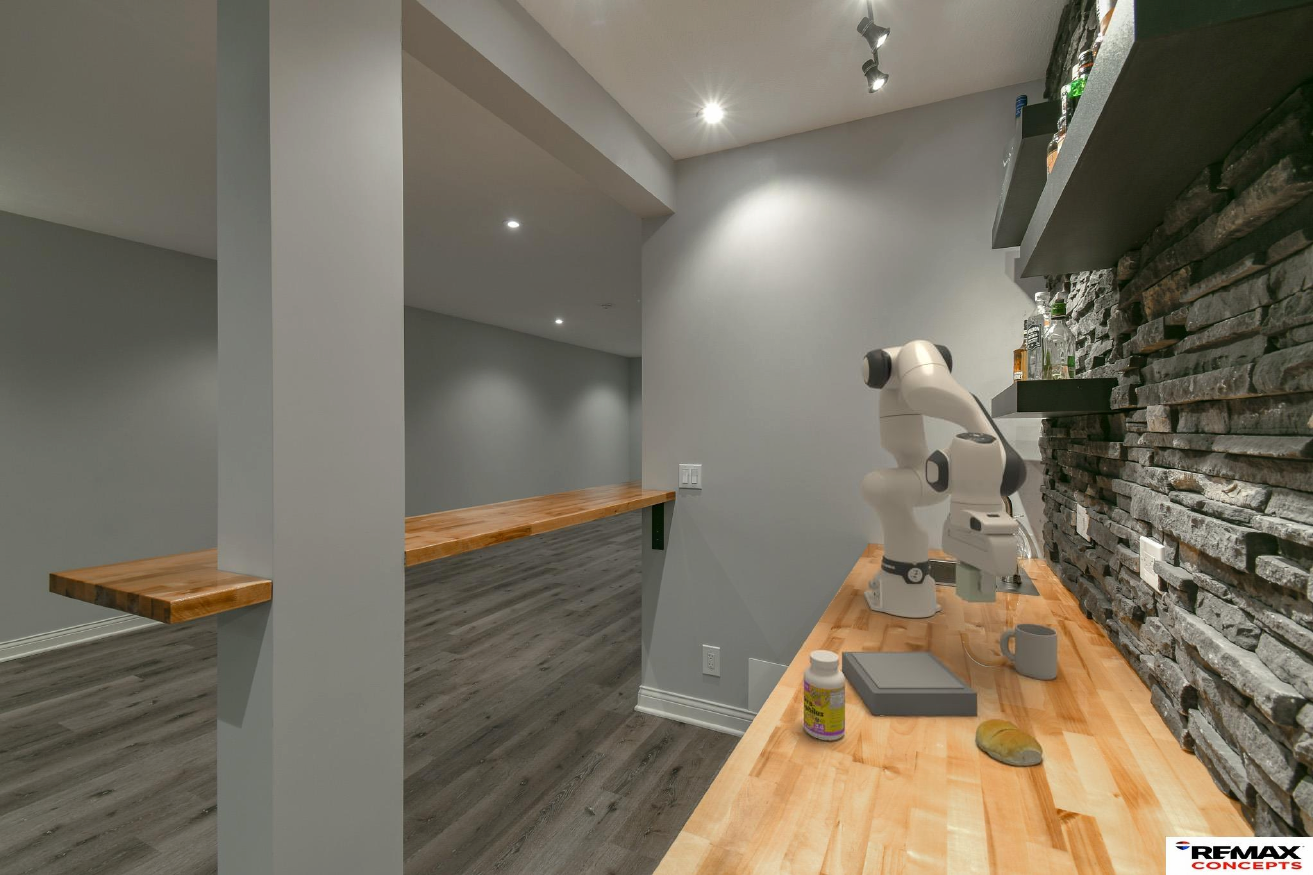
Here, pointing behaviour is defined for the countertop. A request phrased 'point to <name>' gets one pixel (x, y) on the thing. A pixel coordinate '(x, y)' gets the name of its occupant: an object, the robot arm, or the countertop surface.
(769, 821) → the countertop surface
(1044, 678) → the cup
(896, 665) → the tray
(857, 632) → the countertop surface
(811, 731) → the supplement bottle
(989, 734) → the bread roll
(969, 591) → the sage block
